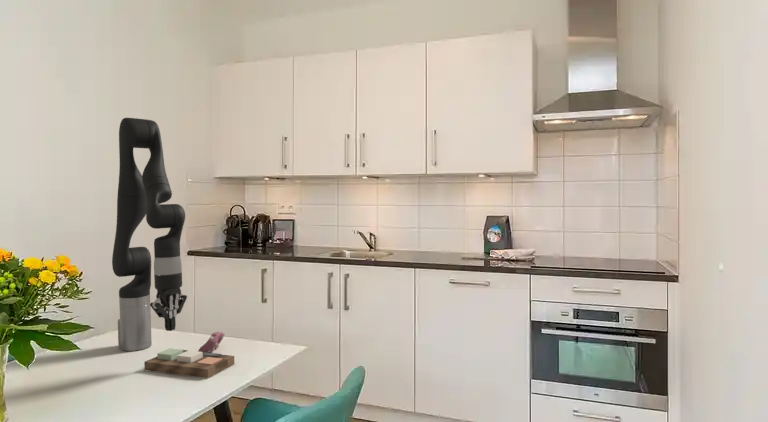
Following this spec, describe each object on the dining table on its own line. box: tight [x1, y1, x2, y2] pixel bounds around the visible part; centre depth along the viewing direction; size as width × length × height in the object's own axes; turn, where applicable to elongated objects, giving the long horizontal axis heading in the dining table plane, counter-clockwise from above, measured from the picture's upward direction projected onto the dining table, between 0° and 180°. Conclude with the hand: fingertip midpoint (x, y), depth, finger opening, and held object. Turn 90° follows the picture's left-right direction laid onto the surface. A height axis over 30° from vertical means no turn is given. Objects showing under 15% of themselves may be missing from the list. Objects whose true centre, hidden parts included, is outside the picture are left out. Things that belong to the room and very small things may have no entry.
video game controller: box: [198, 331, 225, 353], centre depth 166 cm, size 10×5×7 cm, turn 179°
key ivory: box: [177, 350, 203, 363], centre depth 150 cm, size 5×5×2 cm
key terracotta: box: [197, 357, 223, 365], centre depth 147 cm, size 5×5×2 cm
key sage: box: [156, 348, 184, 360], centre depth 152 cm, size 5×5×2 cm
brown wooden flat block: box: [143, 349, 235, 379], centre depth 150 cm, size 22×12×3 cm, turn 71°
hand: (170, 330), depth 152 cm, fingers closed
